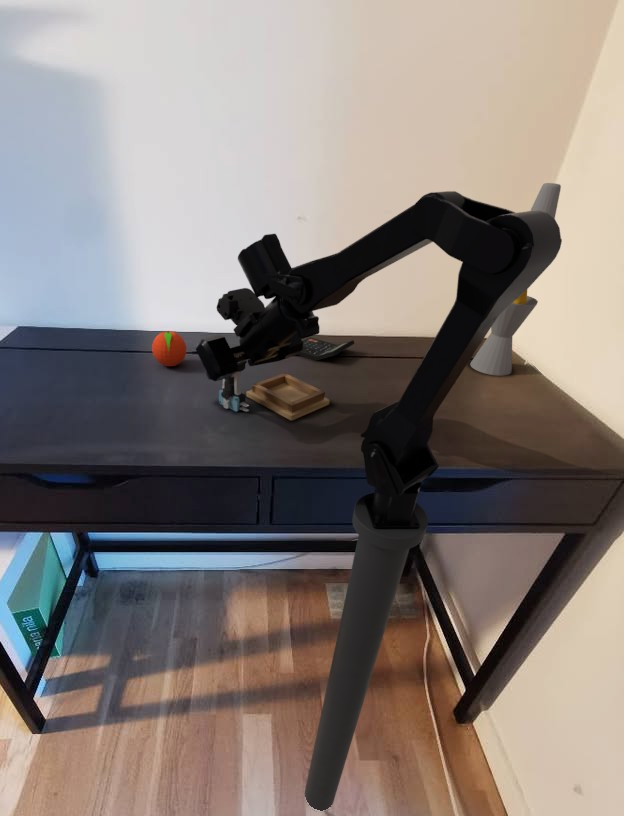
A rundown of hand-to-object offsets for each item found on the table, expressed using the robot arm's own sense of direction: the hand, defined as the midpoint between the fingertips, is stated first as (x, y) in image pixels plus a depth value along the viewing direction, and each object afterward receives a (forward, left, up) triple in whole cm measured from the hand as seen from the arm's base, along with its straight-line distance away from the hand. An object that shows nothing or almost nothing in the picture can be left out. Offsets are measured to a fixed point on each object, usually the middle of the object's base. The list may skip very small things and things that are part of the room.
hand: (229, 369), depth 85 cm
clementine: (+17, +12, -7) cm, 22 cm away
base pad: (+2, -11, -7) cm, 13 cm away
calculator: (+26, -21, -7) cm, 34 cm away
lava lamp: (+19, -58, -7) cm, 61 cm away
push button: (-1, -1, -7) cm, 7 cm away
